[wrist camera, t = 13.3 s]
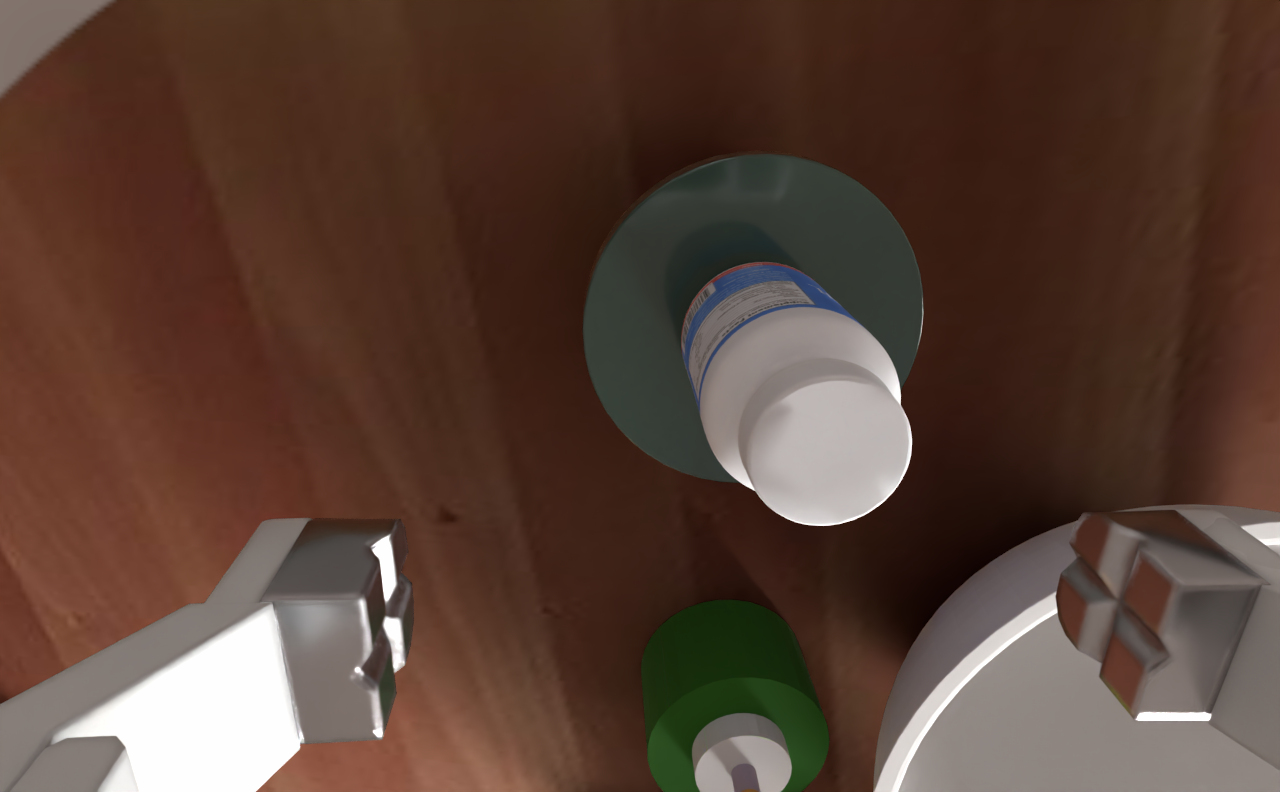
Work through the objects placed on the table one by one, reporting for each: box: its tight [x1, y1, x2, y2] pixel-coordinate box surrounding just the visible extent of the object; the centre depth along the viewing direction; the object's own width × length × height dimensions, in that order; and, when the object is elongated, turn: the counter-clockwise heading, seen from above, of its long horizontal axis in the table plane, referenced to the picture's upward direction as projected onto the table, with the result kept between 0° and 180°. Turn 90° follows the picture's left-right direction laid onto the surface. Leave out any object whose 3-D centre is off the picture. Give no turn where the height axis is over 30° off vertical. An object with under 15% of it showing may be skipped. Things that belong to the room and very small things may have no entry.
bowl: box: [873, 504, 1280, 792], centre depth 37 cm, size 27×27×10 cm
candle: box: [641, 600, 829, 792], centre depth 37 cm, size 8×8×10 cm
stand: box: [582, 150, 924, 483], centre depth 31 cm, size 12×12×6 cm
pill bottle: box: [681, 262, 912, 526], centre depth 24 cm, size 6×5×10 cm
